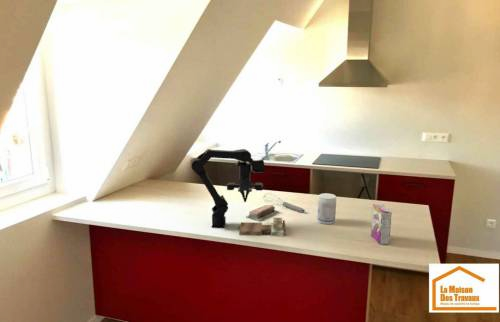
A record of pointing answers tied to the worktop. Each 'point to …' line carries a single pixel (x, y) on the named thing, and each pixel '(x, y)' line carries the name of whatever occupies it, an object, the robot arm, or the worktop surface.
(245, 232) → the trap deck
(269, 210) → the packaged product
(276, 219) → the birch block
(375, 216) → the candy bar box
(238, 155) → the robot arm
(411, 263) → the worktop surface
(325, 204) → the supplement tub
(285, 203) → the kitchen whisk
